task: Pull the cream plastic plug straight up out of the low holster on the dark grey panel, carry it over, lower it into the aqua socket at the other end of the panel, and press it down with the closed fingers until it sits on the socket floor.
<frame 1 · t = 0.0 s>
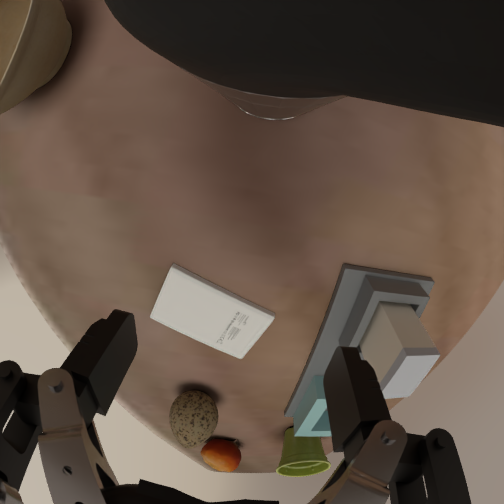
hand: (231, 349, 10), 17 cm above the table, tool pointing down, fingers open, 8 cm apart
panel: (350, 360, 33), on the table
plug: (378, 313, 29), point 1 cm above the table, touching panel
planter bowl: (46, 53, 18), on the table
external hard drive: (211, 310, 32), on the table
plant pot: (301, 429, 43), on the table
decorative egg: (199, 393, 39), on the table
fruit: (223, 441, 46), on the table
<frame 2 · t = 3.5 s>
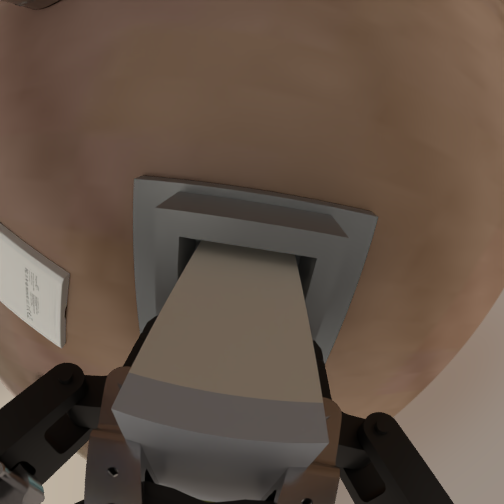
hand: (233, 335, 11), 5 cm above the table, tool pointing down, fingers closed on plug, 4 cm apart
panel: (227, 382, 19), on the table
plug: (241, 288, 14), point 1 cm above the table, touching gripper, panel
external hard drive: (21, 271, 17), on the table
when the fingers open (7 cm above the table, at t = 9.8 s): plug drops 2 cm, resting on panel.
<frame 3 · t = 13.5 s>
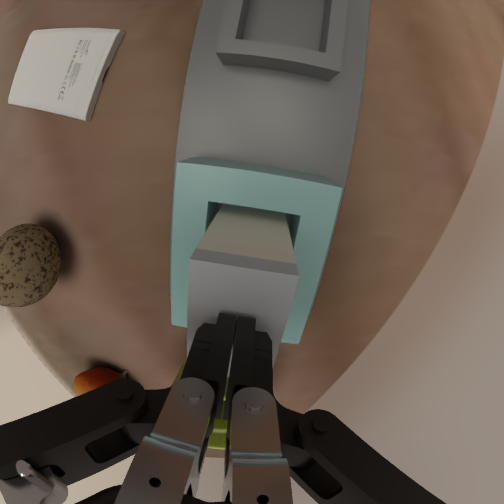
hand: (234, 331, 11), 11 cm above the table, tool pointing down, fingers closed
panel: (266, 131, 18), on the table
plug: (248, 242, 20), point 1 cm above the table, touching gripper, panel
external hard drive: (63, 69, 16), on the table
plant pot: (222, 354, 27), on the table
decorative egg: (52, 245, 23), on the table
fruit: (113, 376, 30), on the table
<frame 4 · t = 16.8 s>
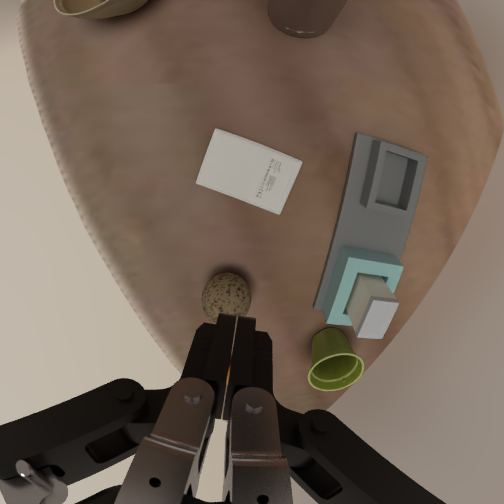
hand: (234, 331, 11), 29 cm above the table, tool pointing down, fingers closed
panel: (371, 233, 39), on the table
plug: (357, 283, 41), point 1 cm above the table, touching panel
external hard drive: (248, 170, 37), on the table
plant pot: (328, 339, 48), on the table
decorative egg: (230, 283, 44), on the table
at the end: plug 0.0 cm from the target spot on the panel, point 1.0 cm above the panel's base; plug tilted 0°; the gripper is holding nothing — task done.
